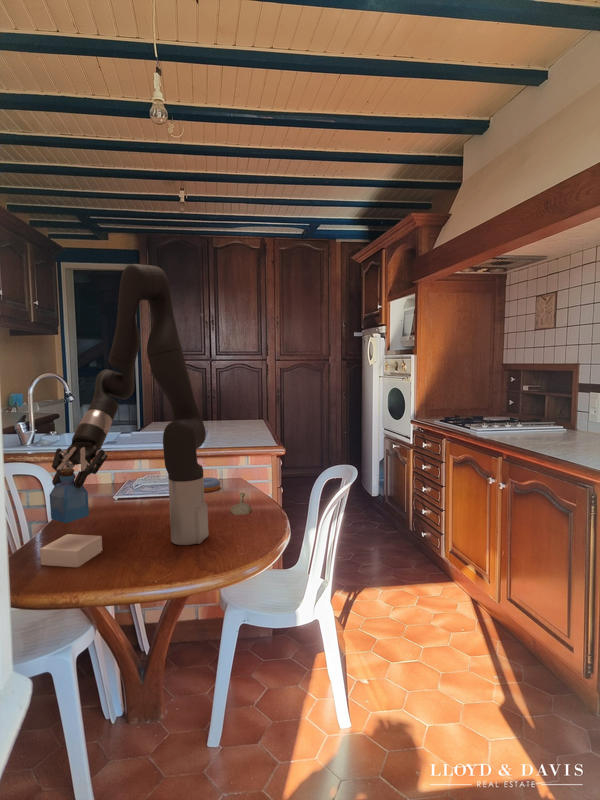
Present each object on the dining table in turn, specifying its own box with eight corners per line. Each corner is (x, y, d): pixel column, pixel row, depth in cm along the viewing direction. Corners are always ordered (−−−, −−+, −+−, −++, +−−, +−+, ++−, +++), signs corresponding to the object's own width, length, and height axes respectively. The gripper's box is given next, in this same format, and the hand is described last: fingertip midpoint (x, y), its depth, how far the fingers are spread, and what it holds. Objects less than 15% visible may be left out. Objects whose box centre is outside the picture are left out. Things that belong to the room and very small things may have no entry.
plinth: (102, 551, 127) (101, 536, 126) (77, 567, 117) (76, 551, 116) (68, 548, 129) (67, 534, 128) (41, 564, 119) (40, 548, 118)
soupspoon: (229, 519, 153) (250, 519, 154) (229, 508, 153) (251, 508, 153) (233, 496, 175) (252, 496, 176) (233, 487, 175) (252, 487, 175)
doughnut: (221, 484, 190) (219, 473, 189) (220, 492, 180) (219, 481, 180) (195, 488, 189) (193, 477, 188) (193, 497, 179) (191, 485, 178)
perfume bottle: (89, 515, 123) (86, 469, 122) (66, 523, 118) (62, 474, 117) (74, 511, 126) (71, 466, 125) (51, 519, 121) (47, 471, 120)
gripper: (61, 421, 129) (31, 477, 119) (111, 422, 127) (84, 479, 116) (75, 438, 135) (48, 492, 125) (123, 439, 132) (99, 495, 122)
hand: (66, 486), depth 120 cm, fingers closed on perfume bottle, 5 cm apart
